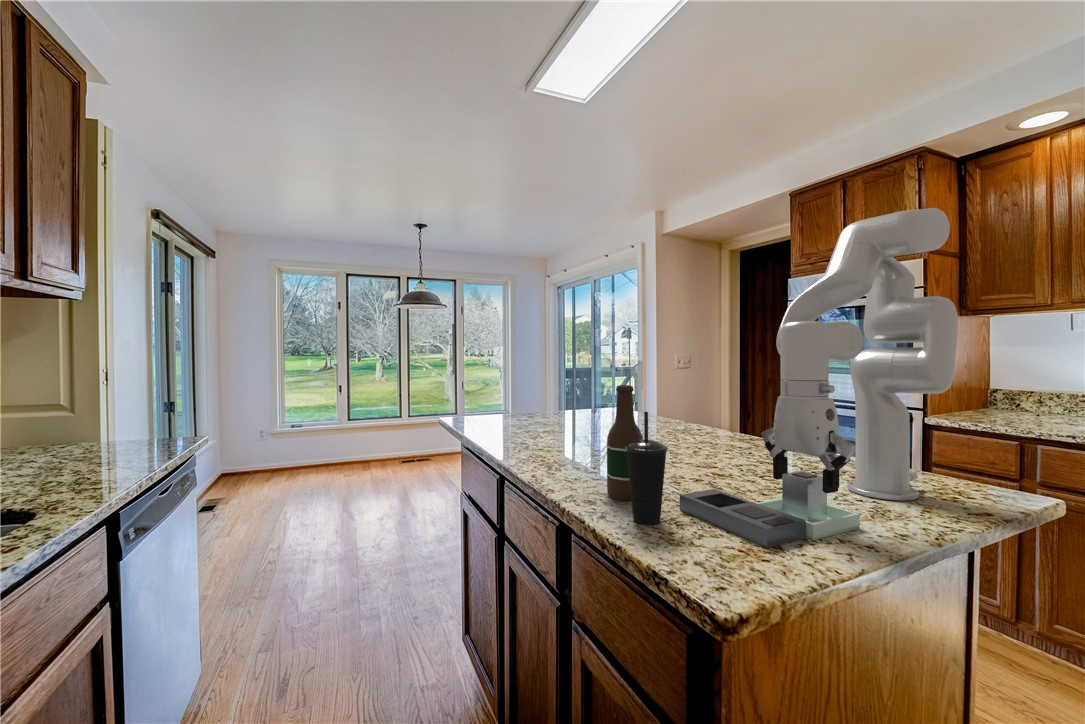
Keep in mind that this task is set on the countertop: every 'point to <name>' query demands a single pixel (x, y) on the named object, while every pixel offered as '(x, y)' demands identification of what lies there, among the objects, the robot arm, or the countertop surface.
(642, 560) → the countertop surface
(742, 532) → the grey slotted block
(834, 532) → the parts tray
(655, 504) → the drinking cup
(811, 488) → the block
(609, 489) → the beer bottle
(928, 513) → the countertop surface
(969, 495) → the countertop surface
